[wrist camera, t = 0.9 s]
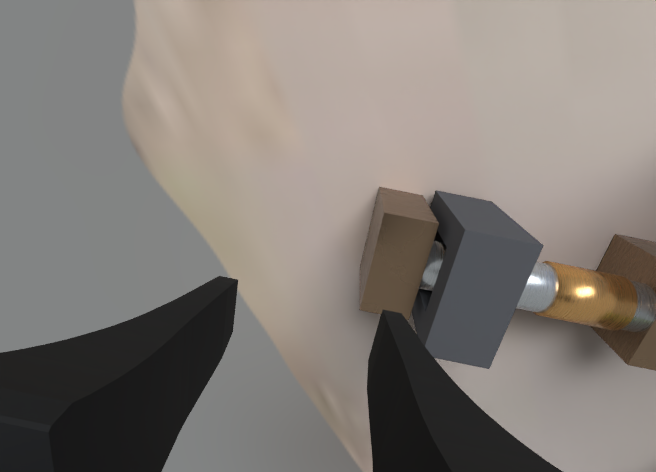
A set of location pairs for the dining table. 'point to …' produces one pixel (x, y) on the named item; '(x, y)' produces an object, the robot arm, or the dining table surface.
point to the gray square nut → (473, 280)
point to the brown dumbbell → (540, 291)
